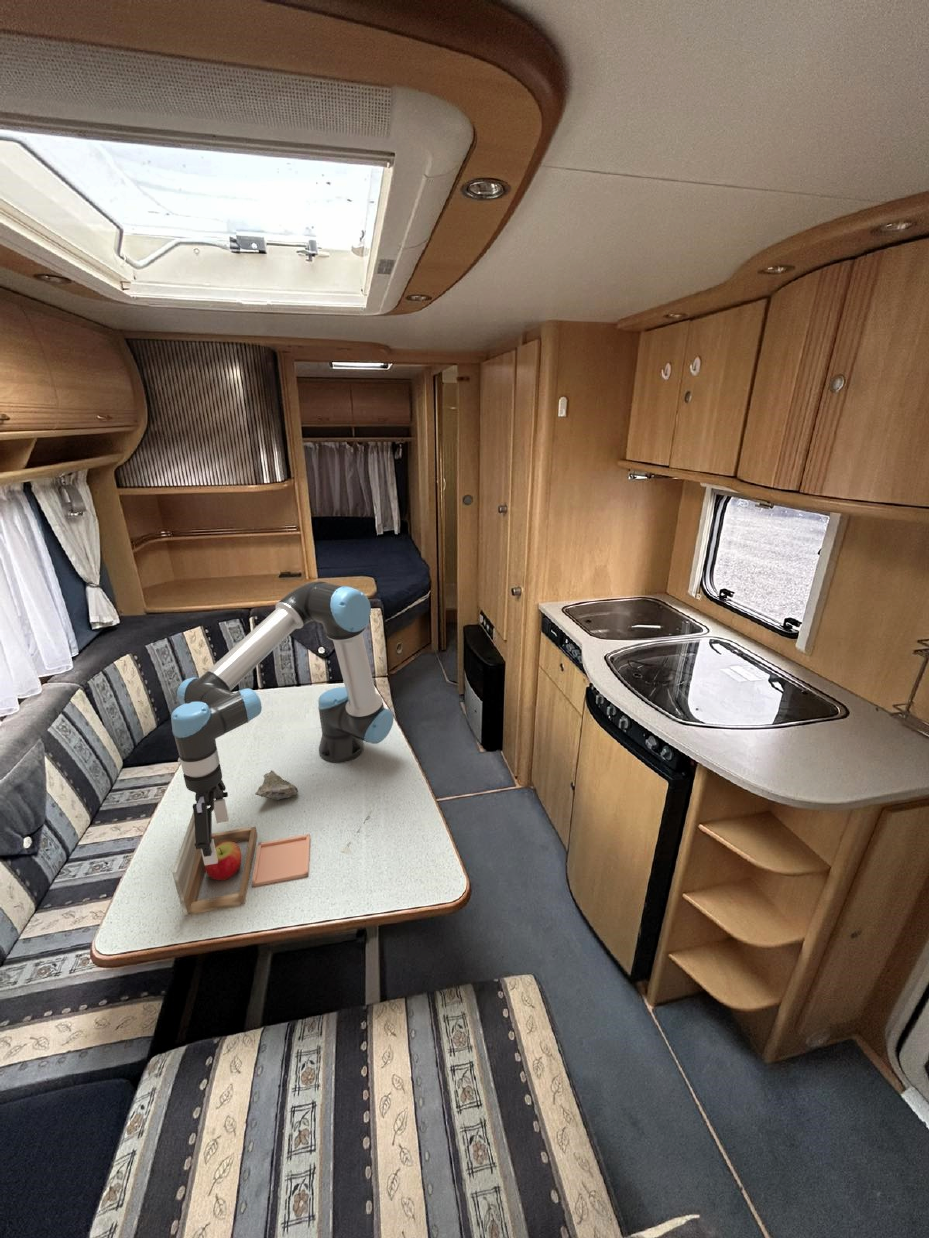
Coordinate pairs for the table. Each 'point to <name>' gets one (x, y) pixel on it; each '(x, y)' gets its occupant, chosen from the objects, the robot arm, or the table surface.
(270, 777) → the rock
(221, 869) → the apple
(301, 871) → the dish
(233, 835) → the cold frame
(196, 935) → the table surface
